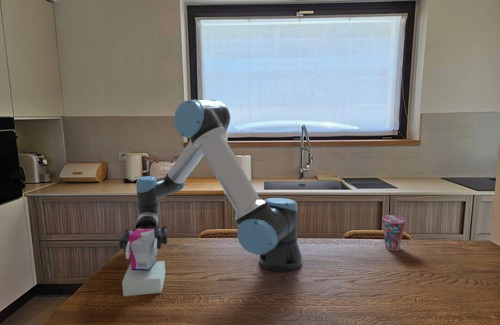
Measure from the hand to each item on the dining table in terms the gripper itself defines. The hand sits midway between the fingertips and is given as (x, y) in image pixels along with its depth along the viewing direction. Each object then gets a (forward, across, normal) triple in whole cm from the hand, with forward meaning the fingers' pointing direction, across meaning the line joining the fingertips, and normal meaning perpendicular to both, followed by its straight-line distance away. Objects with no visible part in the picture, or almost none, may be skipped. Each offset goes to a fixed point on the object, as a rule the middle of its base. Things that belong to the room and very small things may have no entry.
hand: (141, 252), depth 94 cm
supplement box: (-5, 0, -7) cm, 9 cm away
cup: (-7, -92, -13) cm, 93 cm away
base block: (-5, 0, -13) cm, 14 cm away
